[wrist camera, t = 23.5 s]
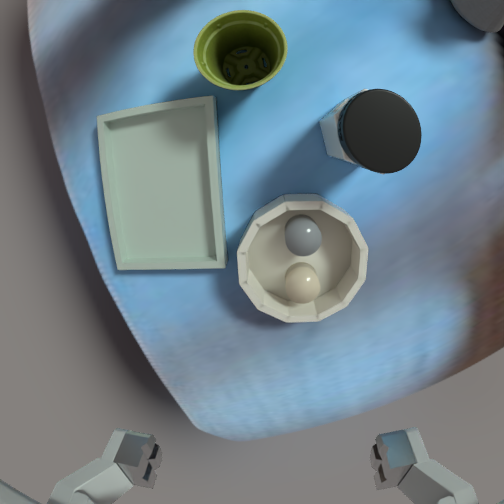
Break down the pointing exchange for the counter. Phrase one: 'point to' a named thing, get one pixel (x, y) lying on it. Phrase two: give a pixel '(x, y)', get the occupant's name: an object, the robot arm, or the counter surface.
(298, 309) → the bowl
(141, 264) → the parts tray
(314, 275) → the stone sand
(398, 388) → the counter surface
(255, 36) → the plant pot
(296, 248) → the grey ball
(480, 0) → the coffee pot
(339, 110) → the jar
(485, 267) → the counter surface
